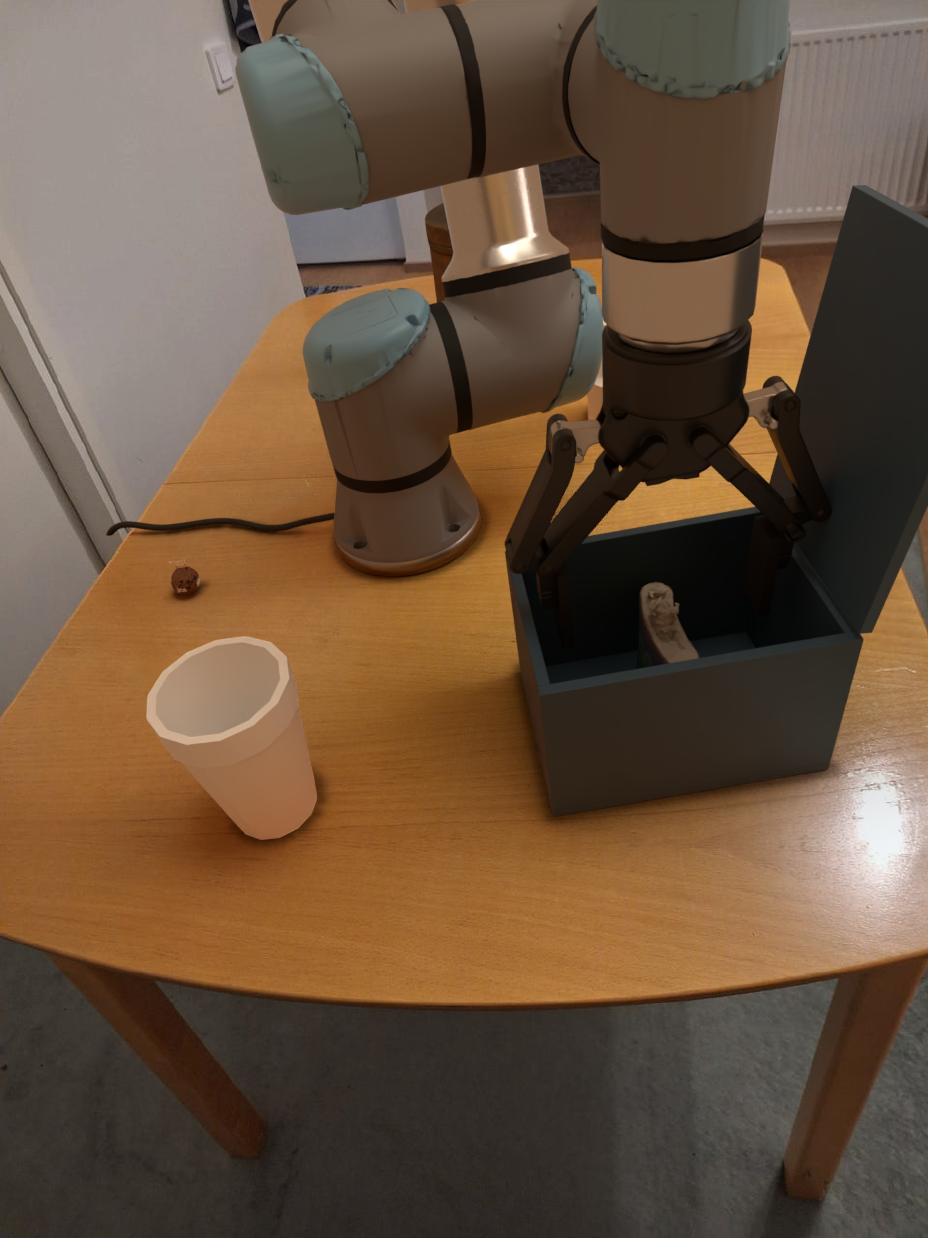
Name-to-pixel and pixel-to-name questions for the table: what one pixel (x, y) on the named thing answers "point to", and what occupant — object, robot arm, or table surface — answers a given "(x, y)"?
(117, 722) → the table surface
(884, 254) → the lunchbox lid
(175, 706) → the foam cup
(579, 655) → the box
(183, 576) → the chocolate
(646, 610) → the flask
